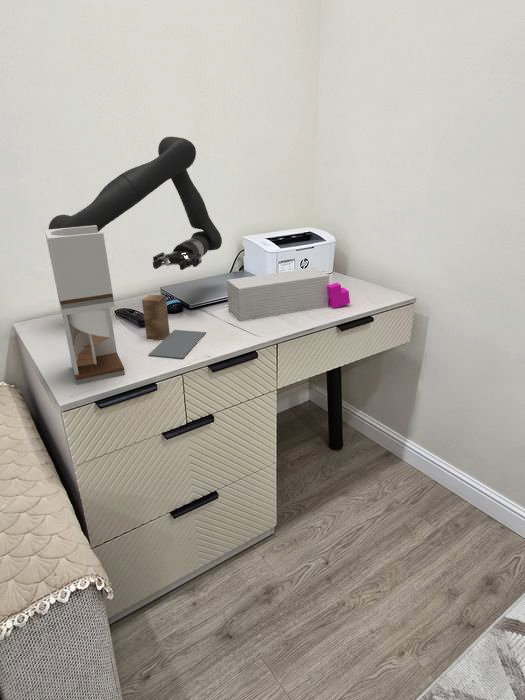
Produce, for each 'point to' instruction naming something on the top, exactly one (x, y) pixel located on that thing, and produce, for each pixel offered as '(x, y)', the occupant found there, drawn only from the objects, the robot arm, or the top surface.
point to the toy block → (337, 295)
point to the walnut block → (156, 317)
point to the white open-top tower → (85, 301)
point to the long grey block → (277, 293)
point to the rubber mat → (177, 344)
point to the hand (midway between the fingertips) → (167, 266)
